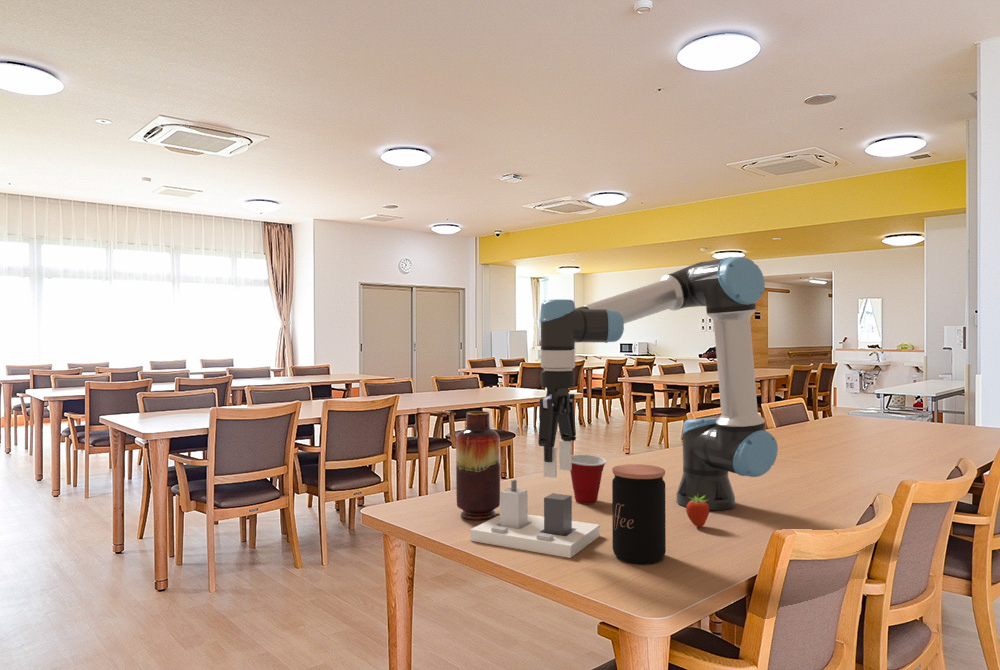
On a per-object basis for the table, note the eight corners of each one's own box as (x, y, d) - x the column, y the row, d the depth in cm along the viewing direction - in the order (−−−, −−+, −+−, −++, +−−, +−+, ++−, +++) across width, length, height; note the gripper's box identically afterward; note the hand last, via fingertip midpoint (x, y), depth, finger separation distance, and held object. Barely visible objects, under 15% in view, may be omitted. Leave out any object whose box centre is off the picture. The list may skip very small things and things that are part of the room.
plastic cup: (586, 508, 173) (586, 463, 173) (558, 500, 182) (558, 457, 182) (615, 502, 180) (615, 458, 180) (587, 494, 188) (586, 452, 188)
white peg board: (599, 535, 150) (599, 481, 150) (570, 558, 135) (570, 497, 135) (506, 521, 162) (506, 470, 162) (470, 540, 147) (470, 484, 147)
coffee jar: (606, 549, 141) (606, 464, 141) (655, 547, 142) (655, 463, 142) (620, 566, 130) (619, 475, 130) (673, 564, 131) (672, 474, 131)
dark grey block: (571, 540, 147) (571, 495, 147) (563, 546, 143) (563, 500, 143) (552, 537, 149) (552, 493, 149) (544, 543, 145) (544, 497, 145)
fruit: (705, 531, 153) (705, 497, 153) (683, 528, 156) (683, 494, 156) (711, 525, 157) (711, 492, 157) (690, 522, 160) (690, 489, 160)
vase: (467, 523, 160) (467, 416, 160) (449, 513, 170) (449, 411, 170) (507, 517, 165) (507, 413, 165) (488, 507, 175) (487, 409, 175)
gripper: (560, 367, 156) (561, 463, 156) (521, 371, 139) (521, 480, 138) (590, 367, 153) (590, 466, 153) (554, 372, 135) (554, 484, 135)
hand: (558, 473), depth 146 cm, fingers open, 8 cm apart
